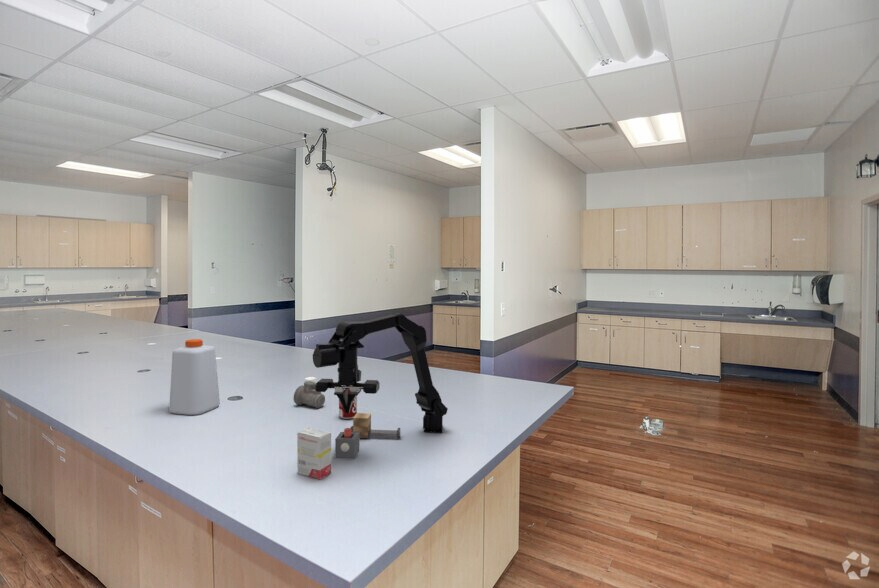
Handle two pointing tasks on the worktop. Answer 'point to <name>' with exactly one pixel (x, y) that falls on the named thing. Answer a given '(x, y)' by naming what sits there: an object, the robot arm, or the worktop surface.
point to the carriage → (362, 424)
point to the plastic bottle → (194, 379)
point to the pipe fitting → (308, 395)
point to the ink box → (314, 453)
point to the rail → (383, 434)
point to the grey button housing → (347, 446)
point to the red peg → (347, 433)
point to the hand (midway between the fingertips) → (347, 413)
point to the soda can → (352, 411)
